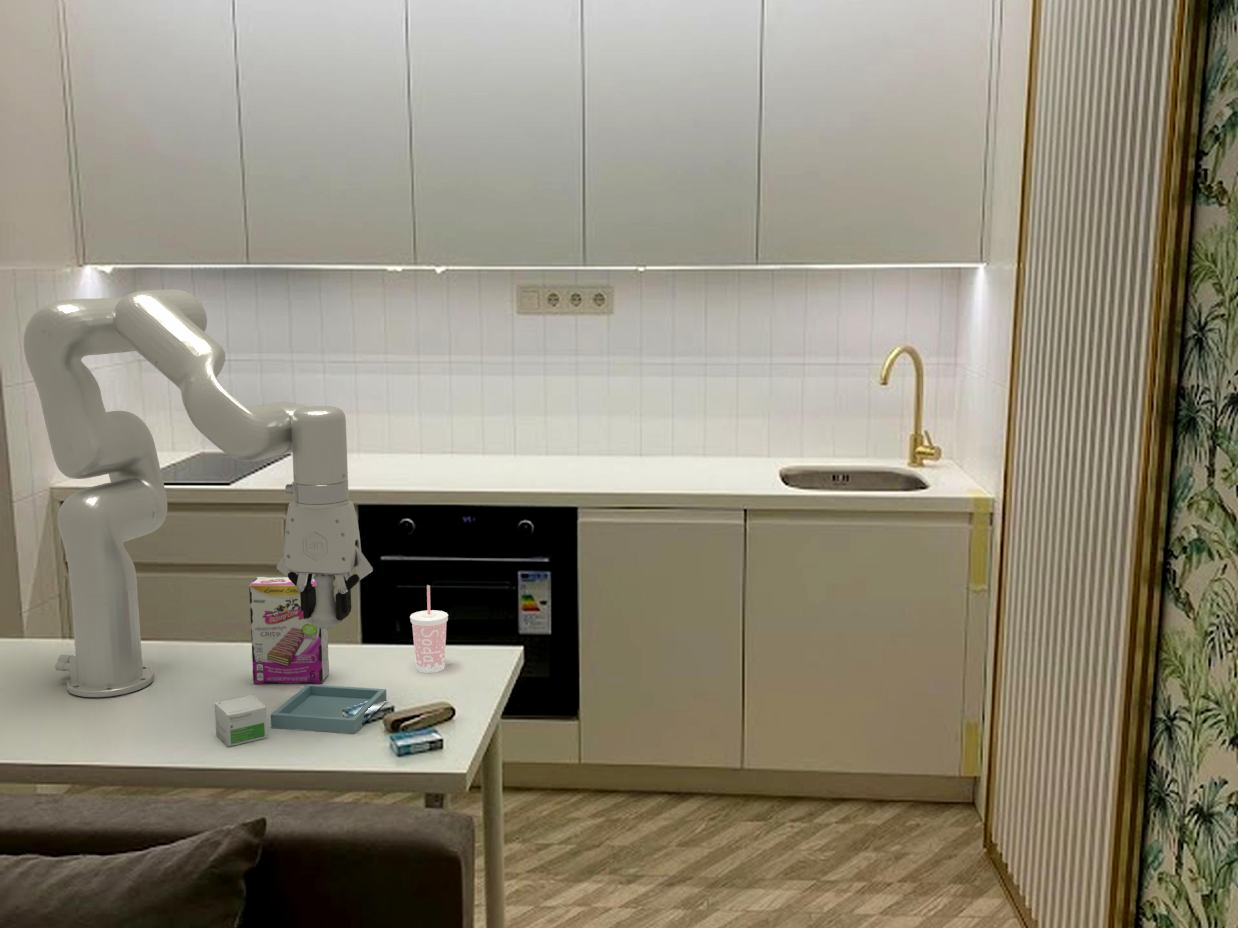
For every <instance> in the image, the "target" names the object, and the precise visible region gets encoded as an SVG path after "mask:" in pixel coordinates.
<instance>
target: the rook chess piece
mask: <svg viewBox="0 0 1238 928" xmlns="http://www.w3.org/2000/svg"><path fill="white" fill-rule="evenodd" d="M313 577H314V578H313V579H314V580H315V582H316V584H317V586H316V588H315V589H316V590H317V598H316V606H315V608H314V611H313V612H312V614H311V617H312V619H313V620H312V621H311V624H312V625H313V626H314V627H316V628H321V629H323V628H327V629H334V628H336V627H337V628H338V627H339V626H340V625H341V623H342V622H343V620H342V621H340V620H337V619H336V598H335V589H336V586H335V585H334V581H336V577H335V575H327V574H314V576H313Z"/></svg>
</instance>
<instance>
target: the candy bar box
mask: <svg viewBox="0 0 1238 928" xmlns="http://www.w3.org/2000/svg"><path fill="white" fill-rule="evenodd" d="M313 578H314V576H313ZM316 586H317V584H316V582H315V580H314V579H313V581H312V587H315V588H316ZM248 588H249V589H248V590H249V591H248V592H249V609H250V610H249V613H250V614H249V615H250V629H251V630H250V631H251V632H250V633H251V634H250V635H251V660H252V661H251V662H252V681H253V684H256V685H257V684H263V685H264V684H265V685H266V684H268V685H269V684H272V685H273V684H286V685H287V684H323V683H324V682H325V680H326V678H327V677H328V676H329V673H330V665H329V664H330V663H329V662H330V661H329V639H328V638H329V637H328V636H329V635H328V631H329V630H328V629H329V628H323V629H321V628H316V627H314V626H313V625H312V624H311V621H312V620H313V619H312V617H310V618H308V619H304V618H303V611H301V600H300V592H299V591H298V590H297V588H296V586H295V585H294V584H293V583H292V581H291V580H290V579H289V578H288V576H286V577H285V576H257V577H256V578H255V579H254V580H253V581H251V582H250V584H249V585H248ZM316 598H317V590H316Z"/></svg>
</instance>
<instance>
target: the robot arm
mask: <svg viewBox="0 0 1238 928" xmlns="http://www.w3.org/2000/svg"><path fill="white" fill-rule="evenodd" d="M207 325H208V317H207V312H206V310H205V307H204V306H203V305H202V303H201V302H200V300H199V299H198V298H197V297H195V296H194V295H193V294H191V293H189V292H188V291H184V290H182V289H147V290H137V291H134V292H132V293H129V294H127V295H125V296H124V297H123V296H122V297H104V298H103V297H102V298H74V299H73V298H72V299H64V300H59V301H55V302H51V303H49V304H47V305H44V306H42V307H41V308H39V309H38V310H36V312H34V314H33V315H32V316H31V318H29V321H28V322H27V324H26V328H25V331H24V335H23V353H24V356H25V360H26V363H27V367H28V369H29V372H30V374H31V377H32V378H33V379H32V380H33V381H34V385H35V387H36V390H37V392H38V396H39V401H40V406H41V410H42V415H43V419H44V422H45V424H44V425H45V427H46V431H47V432H46V433H47V435H48V440H49V445H50V448H51V452H52V455H53V459H54V462H55V465H56V467H57V469H58V471H60V472H59V473H61V474H63V475H64V476H65V477H67V478H70V479H74V480H81V479H82V480H83V479H91V478H96V477H101V476H104V475H108V477H109V481H110V482H105V483H101V484H97V485H94V486H90V487H86V488H82V489H80V490H77V491H76V492H74V493H72V494H70V495H69V496H68V497H67V498H66V499H65V500H64V501H63V502H62V504H61V505H60V508H59V510H58V514H57V526H58V531H59V534H60V537H61V540H62V545H63V549H64V552H65V557H66V561H67V568H68V569H67V570H68V576H69V578H68V579H69V588H70V589H69V590H70V599H71V601H70V602H71V611H72V624H73V625H72V628H73V636H74V637H73V638H74V640H73V641H74V652H75V655H73V654H59V656H58V658H57V663H56V664H55V670H56V671H58V672H69V673H70V677H69V679H68V680H66V689H67V690H66V691H68V692H69V693H70V694H72V695H74V696H78V697H83V698H108V697H116V696H121V695H126V694H130V693H133V692H135V691H138V690H141V689H143V688H146V687H147V686H149V685H150V684H152V682H154V680H155V679H154V678H155V673H154V670H153V669H152V668H151V667H148V666H146V665H143V653H142V652H143V651H142V642H141V641H142V639H141V626H140V625H141V623H140V610H139V609H140V608H139V607H140V606H139V598H138V594H139V593H138V579H137V572H136V567H135V564H134V562H133V560H132V558H131V555H130V554H129V553H128V551H127V550H126V548H125V545H124V543H126V542H128V541H130V540H131V541H132V540H134V539H138V538H141V537H144V536H147V535H149V534H152V533H154V532H155V531H157V530H158V529H160V527H161V526H162V525H163V524H164V522H165V521H166V519H167V518H166V517H167V514H168V498H167V493H166V488H165V483H164V480H163V476H162V471H161V465H160V462H159V458H158V452H157V448H156V445H155V441H154V438H153V434H152V433H151V431H150V429H149V427H148V426H147V424H146V423H145V422H144V420H143V419H142V418H141V417H139V416H137V415H136V414H135V413H133V412H129V411H127V410H126V411H125V410H112V411H107V410H106V408H105V405H104V402H103V397H102V391H101V388H100V386H99V383H98V381H97V379H96V377H95V376H94V374H93V373H92V371H91V370H90V369H89V368H88V366H86V364H85V363H84V362H83V361H82V359H83V358H84V357H86V356H96V355H97V356H98V355H99V356H100V355H110V354H118V353H129V352H130V353H131V352H137V353H138V354H139V355H140V356H142V357H143V358H144V359H145V360H146V361H147V362H148V363H150V365H152V366H153V367H154V368H155V369H157V370H158V371H159V372H160V373H161V374H162V375H163V376H165V377H166V379H168V380H169V381H170V382H172V384H174V385H175V386H176V387H177V388H178V389H179V390H180V394H181V400H182V403H183V406H184V409H185V411H186V413H187V416H188V418H189V420H190V421H191V423H192V424H193V426H194V428H196V429H197V430H198V431H199V432H200V433H201V434H202V435H203V436H204V437H205V438H206V439H208V440H209V441H210V443H212V444H213V445H215V446H216V447H217V448H218V449H219V450H221V451H222V452H223V453H224V454H226V455H228V456H229V457H231V458H232V459H235V460H238V461H240V462H245V463H246V462H248V463H250V462H257V461H262V460H265V459H268V458H272V457H276V456H277V457H278V456H282V455H286V454H287V455H288V454H290V453H292V470H293V471H292V473H293V474H292V475H293V481H292V482H291V483H287V484H285V486H284V487H285V489H284V491H285V493H286V494H291V495H292V499H293V500H294V501H292V502H289V504H288V508H287V514H286V520H285V530H284V531H285V532H284V550H283V552H284V554H283V555H282V557H281V558H280V560H279V561H278V563H277V565H276V569H277V570H278V571H279V572H280V573H281V574H283V575H284V576H286V577H288V578H289V579H290V580H291V581H292V583H293V584H294V585H295V586H296V588H297V590H298V591H299V592H300V600H301V611H303V618H304V619H308V618H310V617H311V614H312V612H313V611H314V608H315V606H316V589H315V587H312V581H313V577H314V576H315V575H316V574H327V575H335V577H336V578H335V581H336V585H337V588H338V590H337V591H338V592H337V593H336V594H335V595H334V597H335V602H336V619H337V620H340V621H342V622H343V620H344V619H345V618H347V617H349V615H350V613H351V611H352V589H354V587H355V586H356V585H357V584H358V583H359V582H360V581H361V580H362V579H364V578H365V577H367V576H368V575H369V574H371V573H372V572H373V571H374V567H373V566H372V565H371V563H370V562H369V561H368V559H367V558H366V556H365V555H364V554H363V552H362V547H361V537H360V530H359V529H360V528H359V523H358V517H357V513H356V510H355V509H356V508H355V505H354V502H353V500H352V501H351V500H350V499H349V495H350V494H349V478H348V477H349V475H348V474H349V472H348V469H349V468H348V446H347V445H348V443H347V441H348V440H347V420H346V414H345V413H344V411H343V410H342V409H341V408H340V407H336V406H330V405H312V406H309V405H303V404H300V403H295V402H294V403H293V402H291V401H289V402H288V401H276V402H271V403H265V404H260V405H254V406H245V405H244V404H243V403H241V402H240V401H239V399H236V398H235V397H234V396H233V395H232V394H231V393H229V391H227V390H226V389H225V387H223V386H222V384H221V383H220V382H219V380H218V376H219V375H220V373H221V372H222V370H223V368H224V366H225V363H226V352H225V350H224V348H223V347H222V346H221V344H219V343H218V342H217V341H216V340H215V339H213V338H212V337H211V336H210V335H209V334H207V333H206V329H207ZM354 568H358V570H357V571H356V572H355V573H353V574H352V571H351V570H353V569H354Z"/></svg>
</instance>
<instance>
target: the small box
mask: <svg viewBox="0 0 1238 928" xmlns="http://www.w3.org/2000/svg"><path fill="white" fill-rule="evenodd" d="M213 706H214V717H215V718H214V719H215V733H216V736H217V737H218V738H219V739H220V740H221V741H222V742H223V743H224V744H225V745H226V746H227V747H228V748H230V747H234V746H238V745H242V744H246V743H250V742H254V741H258V740H264V739H267V738H268V725H267V724H268V723H267V721H268V720H267V719H268V718H267V708H266V707H267V706H266V705H265V704H264V703H262V701H260V699H257V697H255V695H254V694H250V695H246V696H241V697H237V698H232V699H228V700H224V701H219V702H214V705H213Z"/></svg>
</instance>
